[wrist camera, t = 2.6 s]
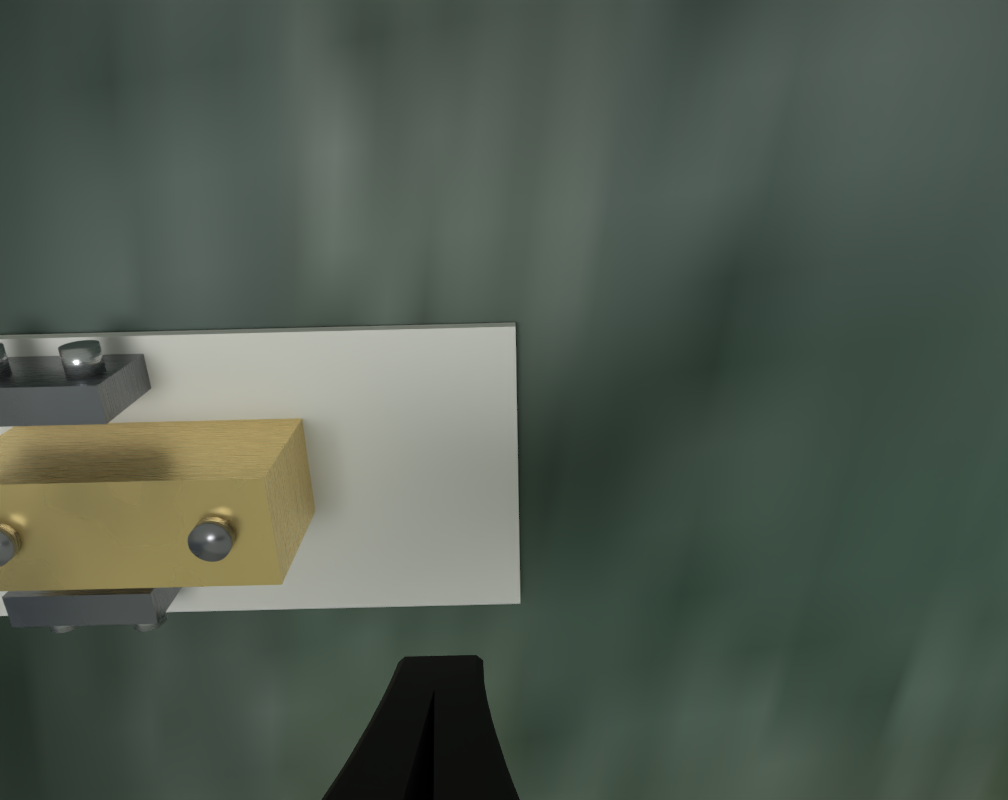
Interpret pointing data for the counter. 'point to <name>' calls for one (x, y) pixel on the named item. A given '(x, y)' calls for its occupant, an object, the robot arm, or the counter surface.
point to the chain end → (77, 401)
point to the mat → (357, 451)
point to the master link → (152, 504)
